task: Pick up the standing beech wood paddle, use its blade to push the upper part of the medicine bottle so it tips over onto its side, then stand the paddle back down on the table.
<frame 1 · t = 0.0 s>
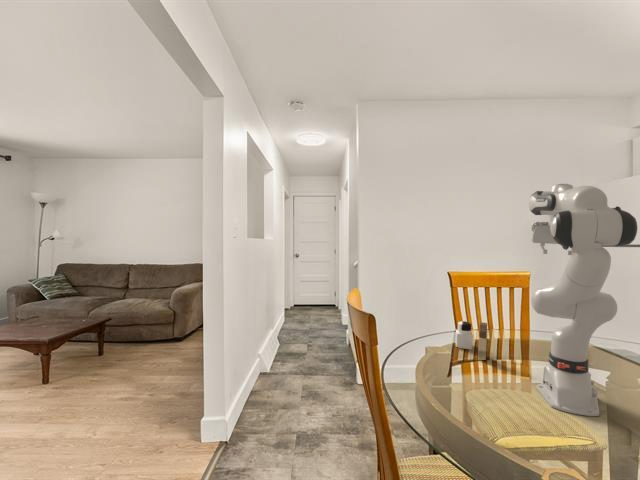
hand: (557, 254, 160), 48 cm above the table, fingers open, 8 cm apart
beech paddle: (481, 358, 167), on the table
medicine bottle: (463, 346, 181), on the table
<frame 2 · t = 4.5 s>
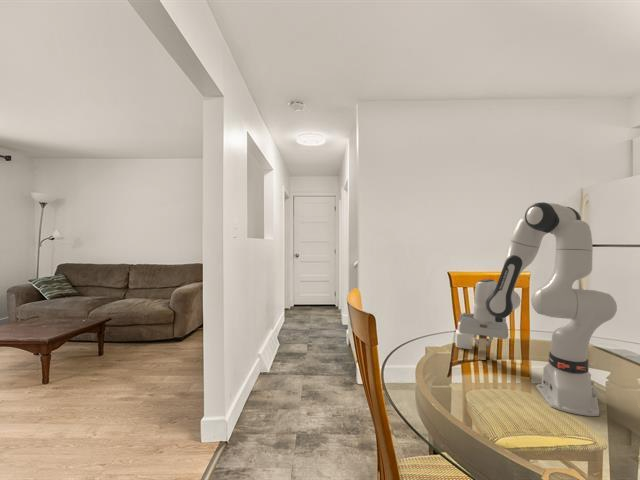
hand: (482, 345, 166), 6 cm above the table, fingers closed on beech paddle, 3 cm apart
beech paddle: (481, 358, 167), on the table, touching gripper
everything else where it was.
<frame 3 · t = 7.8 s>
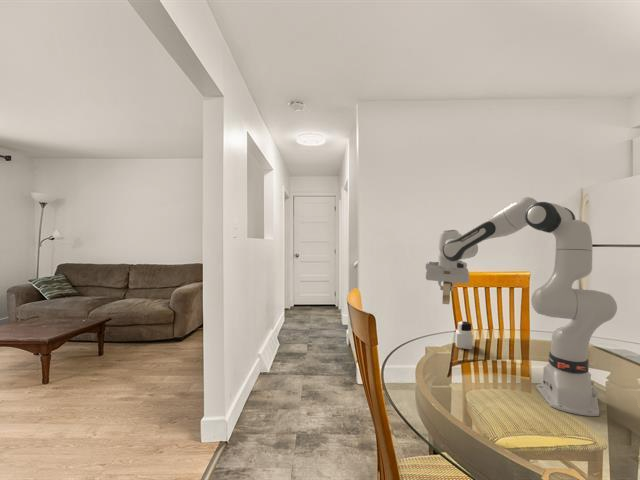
hand: (446, 290, 182), 27 cm above the table, fingers closed on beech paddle, 3 cm apart
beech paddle: (446, 302, 183), point 21 cm above the table, touching gripper
everything else where it was.
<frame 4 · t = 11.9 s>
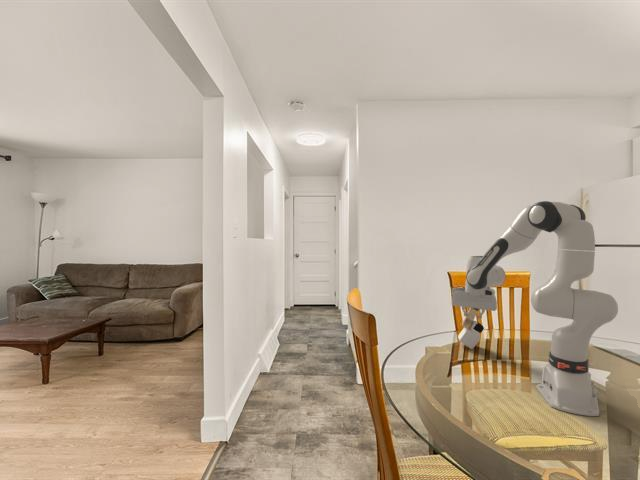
hand: (472, 316, 179), 15 cm above the table, fingers closed on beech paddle, 5 cm apart
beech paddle: (464, 326, 180), point 10 cm above the table, tilted 24°, touching gripper, medicine bottle
medicine bottle: (464, 343, 181), point 2 cm above the table, touching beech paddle
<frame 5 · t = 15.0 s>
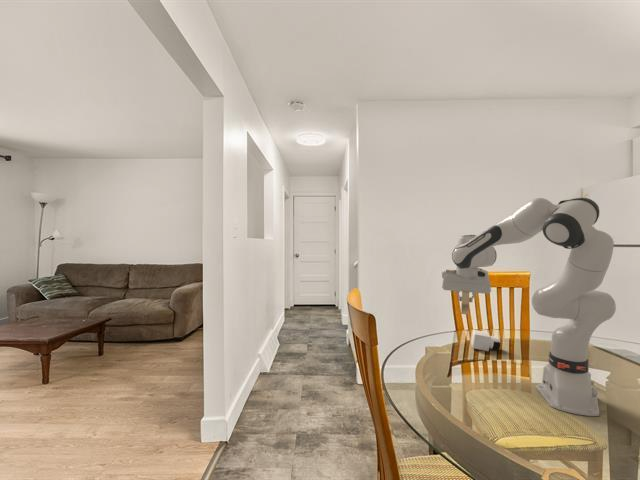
hand: (465, 301, 166), 26 cm above the table, fingers closed on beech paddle, 3 cm apart
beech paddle: (464, 312, 166), point 21 cm above the table, touching gripper
medicine bottle: (472, 338, 180), point 4 cm above the table
when the fingers open (8 cm above the table, at t = 18.6 s): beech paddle drops 2 cm, on the table.
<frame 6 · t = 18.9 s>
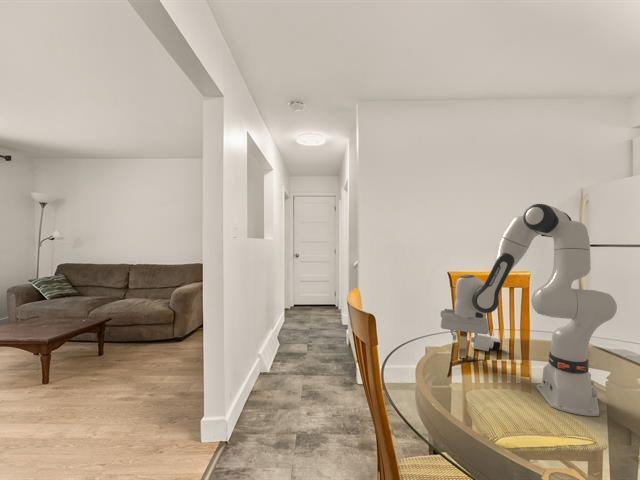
hand: (463, 340, 168), 8 cm above the table, fingers open, 6 cm apart
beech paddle: (462, 356, 168), on the table
everything else where it was.
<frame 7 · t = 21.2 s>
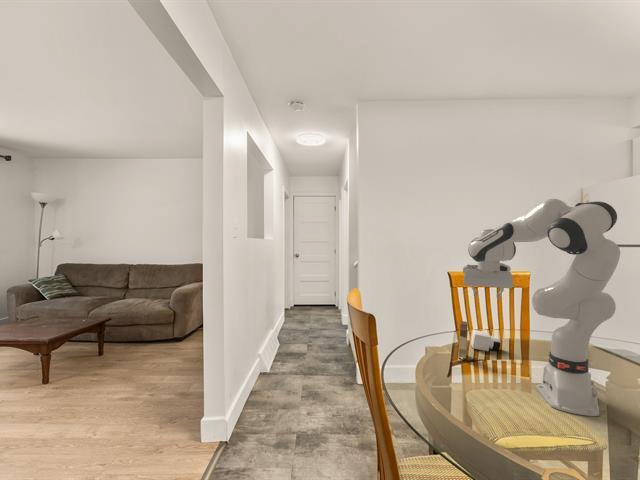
hand: (486, 296, 165), 28 cm above the table, fingers open, 8 cm apart
nothing on the table moved.
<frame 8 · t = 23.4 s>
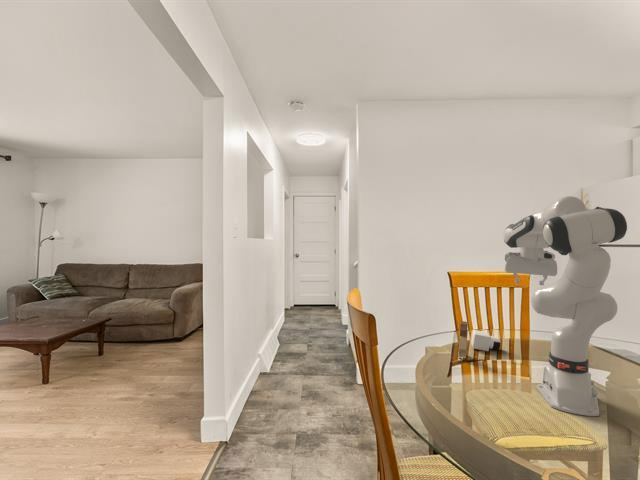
hand: (529, 284, 164), 34 cm above the table, fingers open, 8 cm apart
nothing on the table moved.
at the end: medicine bottle tilted 96°; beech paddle inside the target area (0.1 cm from its centre), on the table; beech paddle tilted 0° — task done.
